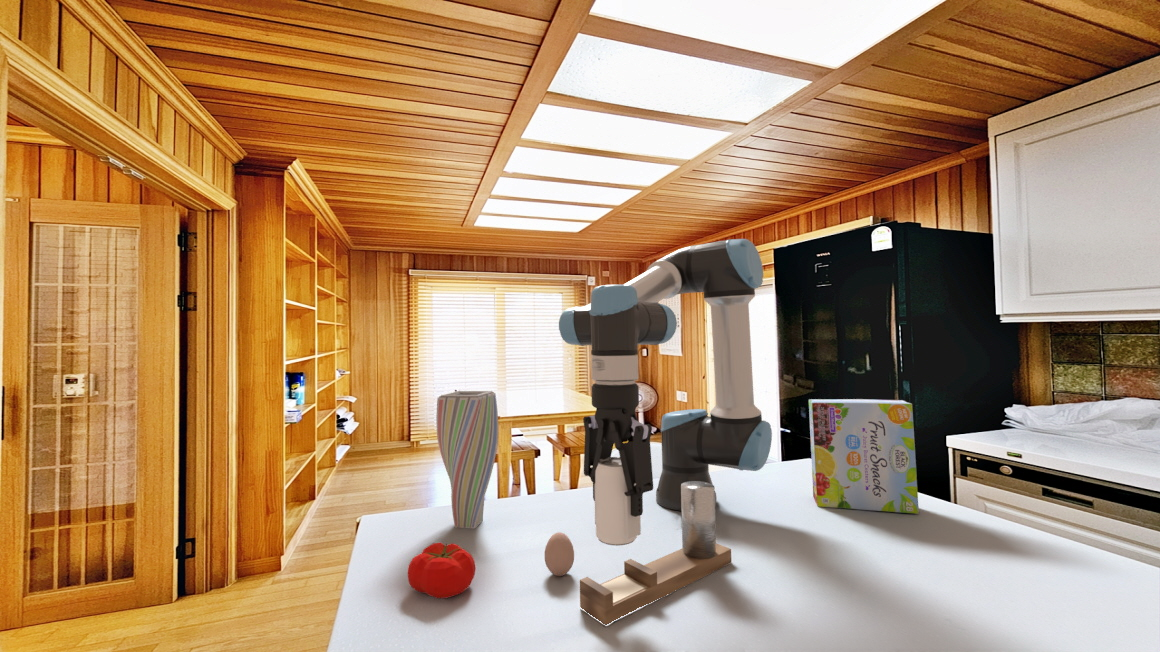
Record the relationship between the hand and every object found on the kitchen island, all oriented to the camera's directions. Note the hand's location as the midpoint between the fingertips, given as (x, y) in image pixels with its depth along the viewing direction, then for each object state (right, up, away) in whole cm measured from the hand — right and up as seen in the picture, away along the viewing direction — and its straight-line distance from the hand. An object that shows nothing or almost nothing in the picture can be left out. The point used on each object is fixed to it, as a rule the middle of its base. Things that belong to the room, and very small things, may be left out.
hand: (617, 528), depth 75 cm
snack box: (+63, -12, +42) cm, 77 cm away
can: (0, -2, 0) cm, 2 cm away
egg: (-9, -13, +10) cm, 19 cm away
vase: (-31, -14, +35) cm, 49 cm away
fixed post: (+16, -9, +12) cm, 22 cm away
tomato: (-29, -13, +6) cm, 32 cm away
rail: (+8, -12, +6) cm, 16 cm away
